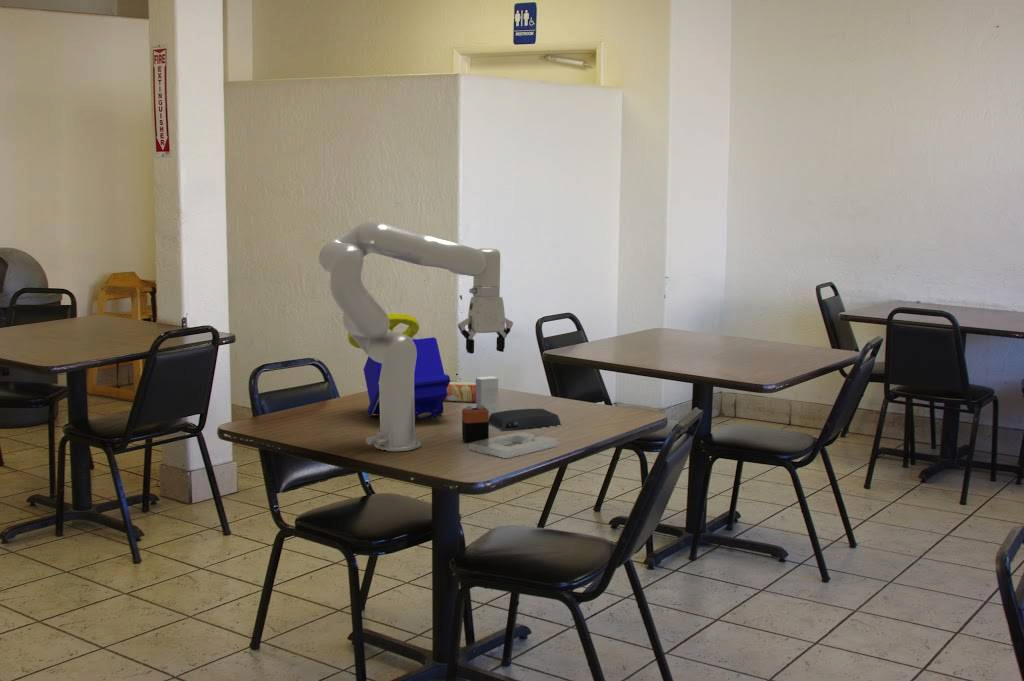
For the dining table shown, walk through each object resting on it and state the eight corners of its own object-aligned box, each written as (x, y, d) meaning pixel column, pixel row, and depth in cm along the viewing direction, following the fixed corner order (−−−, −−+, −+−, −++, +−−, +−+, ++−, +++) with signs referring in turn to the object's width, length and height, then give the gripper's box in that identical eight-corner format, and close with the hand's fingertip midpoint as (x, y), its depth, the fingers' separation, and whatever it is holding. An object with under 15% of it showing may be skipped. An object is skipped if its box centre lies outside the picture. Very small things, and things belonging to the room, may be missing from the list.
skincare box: (493, 413, 351) (493, 375, 350) (498, 415, 348) (498, 377, 346) (475, 414, 349) (475, 377, 347) (481, 417, 345) (480, 379, 343)
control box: (459, 398, 330) (438, 307, 340) (371, 410, 321) (352, 316, 331) (441, 427, 352) (422, 341, 362) (358, 439, 343) (341, 350, 354)
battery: (489, 441, 312) (489, 406, 311) (465, 443, 310) (465, 408, 309) (484, 438, 316) (484, 403, 315) (461, 440, 314) (461, 405, 313)
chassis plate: (505, 458, 292) (505, 451, 292) (469, 450, 302) (469, 442, 302) (556, 446, 306) (556, 439, 306) (520, 438, 316) (520, 431, 316)
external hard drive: (486, 424, 337) (485, 411, 336) (543, 419, 344) (543, 406, 344) (503, 433, 325) (503, 419, 324) (562, 427, 332) (562, 414, 332)
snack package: (417, 401, 372) (417, 381, 371) (423, 397, 378) (423, 378, 377) (478, 404, 366) (478, 384, 366) (483, 400, 373) (483, 380, 372)
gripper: (465, 294, 307) (464, 355, 309) (519, 292, 316) (518, 352, 318) (453, 291, 314) (452, 352, 316) (506, 290, 322) (505, 349, 324)
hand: (485, 352), depth 317 cm, fingers open, 9 cm apart
